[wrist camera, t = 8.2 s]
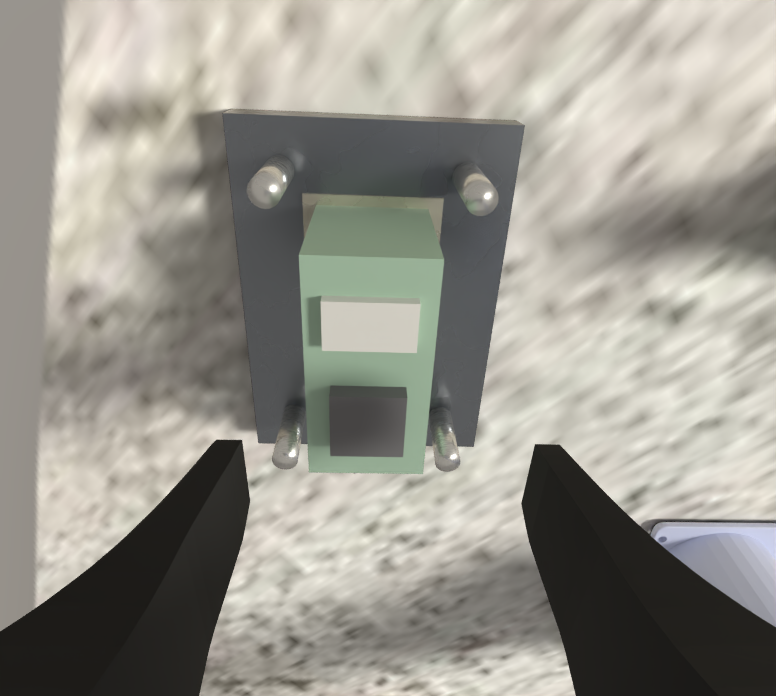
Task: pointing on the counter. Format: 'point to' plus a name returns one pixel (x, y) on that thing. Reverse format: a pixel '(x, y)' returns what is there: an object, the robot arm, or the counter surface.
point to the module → (369, 336)
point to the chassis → (369, 189)
